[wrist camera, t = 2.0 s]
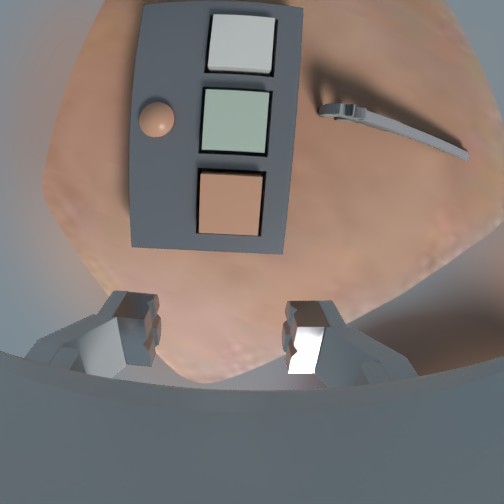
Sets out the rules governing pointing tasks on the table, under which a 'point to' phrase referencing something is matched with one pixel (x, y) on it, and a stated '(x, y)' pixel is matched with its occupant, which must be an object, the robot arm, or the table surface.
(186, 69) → the button panel
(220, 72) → the white button
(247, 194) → the terracotta button
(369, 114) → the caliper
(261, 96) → the sage button
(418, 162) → the table surface
